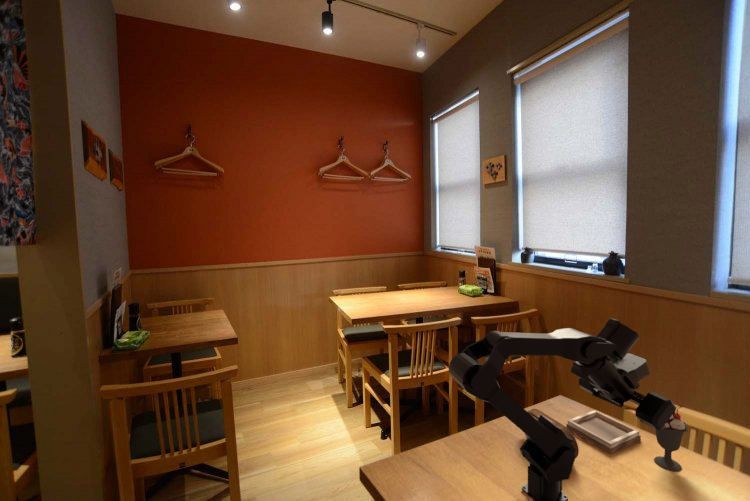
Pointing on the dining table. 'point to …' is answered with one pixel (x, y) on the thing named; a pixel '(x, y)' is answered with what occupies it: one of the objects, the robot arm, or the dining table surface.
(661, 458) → the sundae
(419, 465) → the dining table surface
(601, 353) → the robot arm
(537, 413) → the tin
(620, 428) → the board
